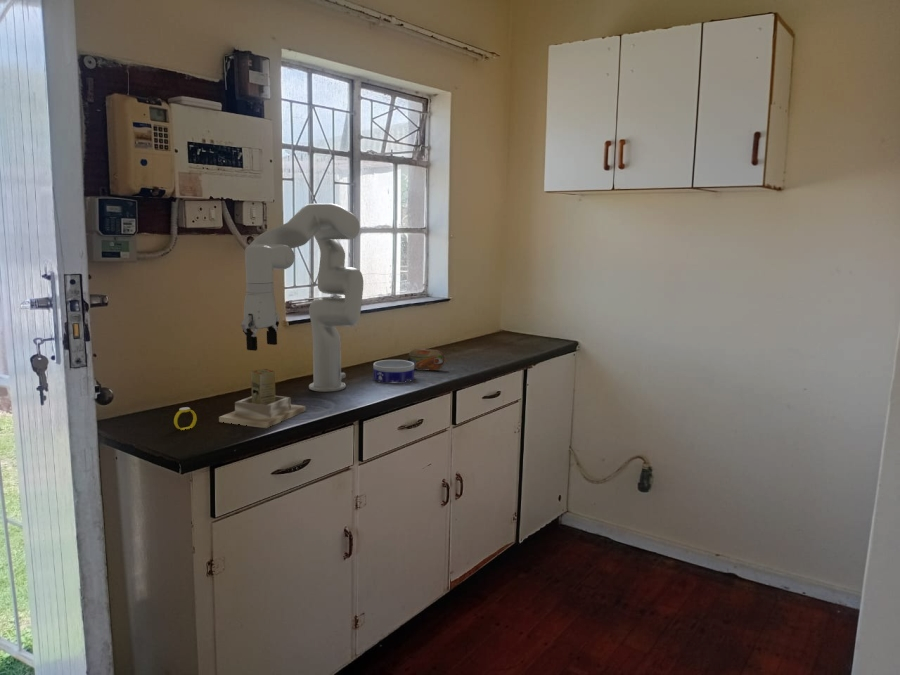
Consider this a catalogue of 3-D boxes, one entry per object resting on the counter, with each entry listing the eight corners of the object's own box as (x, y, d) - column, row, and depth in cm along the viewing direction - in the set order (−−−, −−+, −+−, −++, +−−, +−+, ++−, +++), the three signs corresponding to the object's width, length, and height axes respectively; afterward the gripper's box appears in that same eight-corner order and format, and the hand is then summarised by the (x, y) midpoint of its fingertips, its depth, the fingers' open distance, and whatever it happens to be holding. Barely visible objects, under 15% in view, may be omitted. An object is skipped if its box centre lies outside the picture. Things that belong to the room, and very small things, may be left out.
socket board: (260, 405, 214) (260, 389, 213) (305, 410, 208) (305, 394, 207) (219, 422, 195) (218, 405, 194) (266, 428, 190) (266, 410, 189)
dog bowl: (422, 378, 257) (422, 362, 256) (397, 385, 244) (397, 369, 243) (390, 373, 265) (391, 358, 264) (364, 380, 253) (364, 364, 252)
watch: (178, 433, 185) (176, 412, 184) (173, 431, 187) (171, 410, 185) (199, 427, 189) (196, 406, 188) (194, 425, 191) (191, 404, 190)
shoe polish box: (267, 408, 205) (266, 368, 203) (275, 411, 202) (274, 371, 200) (252, 410, 202) (251, 371, 200) (260, 414, 198) (259, 373, 196)
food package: (406, 369, 272) (407, 348, 270) (409, 368, 275) (409, 347, 273) (443, 372, 268) (443, 350, 267) (445, 370, 271) (445, 349, 270)
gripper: (266, 285, 205) (268, 341, 208) (230, 291, 189) (232, 351, 192) (288, 286, 202) (289, 343, 205) (252, 292, 186) (255, 353, 189)
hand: (262, 347), depth 199 cm, fingers open, 9 cm apart
